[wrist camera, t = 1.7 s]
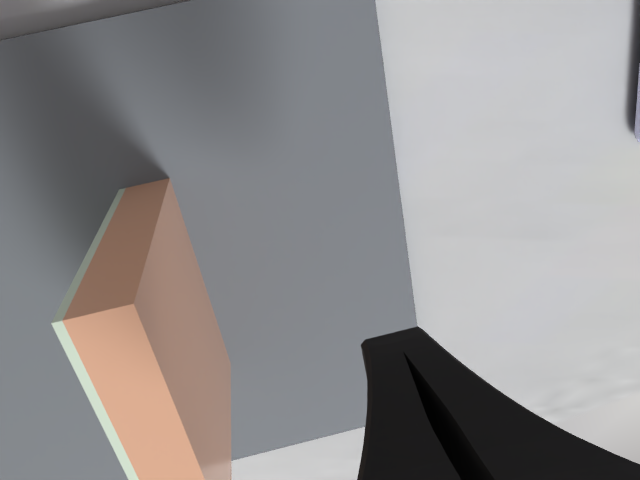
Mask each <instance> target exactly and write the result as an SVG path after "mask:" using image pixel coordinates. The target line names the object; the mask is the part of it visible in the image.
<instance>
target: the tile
mask: <svg viewBox="0 0 640 480" xmlns="http://www.w3.org/2000/svg"><path fill="white" fill-rule="evenodd" d="M51 324H52V326H53V328H54V330H55V332H56V334H57V336H58V338H59V340H60V342H61V344H62V346H63V348H64V350H65V352H66V354H67V356H68V358H69V361H70V363H71V365H72V367H73V369H74V371H75V373H76V375H77V377H78V379H79V381H80V383H81V385H82V387H83V389H84V391H85V393H86V395H87V397H88V399H89V401H90V403H91V405H92V407H93V409H94V411H95V413H96V415H97V417H98V419H99V421H100V423H101V425H102V427H103V429H104V431H105V433H106V435H107V437H108V439H109V441H110V443H111V445H112V447H113V449H114V451H115V453H116V456H117V458H118V460H119V462H120V464H121V466H122V468H123V470H124V472H125V474H126V476H127V478H128V480H231V363H230V360H229V357H228V354H227V351H226V348H225V345H224V342H223V338H222V335H221V332H220V329H219V326H218V323H217V320H216V317H215V314H214V311H213V308H212V305H211V302H210V299H209V296H208V293H207V290H206V287H205V284H204V281H203V278H202V275H201V272H200V268H199V265H198V262H197V259H196V256H195V253H194V250H193V247H192V244H191V241H190V238H189V235H188V232H187V229H186V226H185V223H184V220H183V217H182V214H181V211H180V208H179V205H178V202H177V198H176V195H175V192H174V189H173V186H172V183H171V180H170V178H168V179H163V180H159V181H154V182H150V183H146V184H141V185H137V186H132V187H128V188H124V189H119V191H118V193H117V195H116V197H115V199H114V201H113V203H112V205H111V207H110V209H109V211H108V212H107V214H106V216H105V218H104V220H103V222H102V224H101V226H100V228H99V230H98V232H97V234H96V236H95V238H94V240H93V242H92V244H91V246H90V248H89V250H88V252H87V254H86V256H85V258H84V260H83V262H82V264H81V266H80V268H79V270H78V272H77V274H76V275H75V277H74V279H73V281H72V283H71V285H70V287H69V289H68V291H67V293H66V295H65V297H64V299H63V301H62V303H61V305H60V307H59V309H58V311H57V313H56V315H55V317H54V319H53V321H52V323H51Z"/></svg>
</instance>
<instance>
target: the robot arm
mask: <svg viewBox="0 0 640 480" xmlns="http://www.w3.org/2000/svg"><path fill="white" fill-rule="evenodd" d="M635 138H636V139H637V141H638V142H640V65H639V78H638V92H637V105H636V119H635ZM361 349H362V355H363V360H364V365H365V371H366V376H367V415H366V425H365V436H364V444H363V451H362V457H361V463H360V468H359V474H358V479H357V480H640V464H637V463H635V462H632V461H629V460H627V459H625V458H623V457H620V456H618V455H615V454H613V453H611V452H609V451H607V450H605V449H602V448H600V447H598V446H596V445H594V444H592V443H589V442H587V441H585V440H583V439H581V438H579V437H576V436H574V435H572V434H570V433H568V432H566V431H564V430H563V429H560V428H559V427H557V426H555V425H553V424H552V423H550V422H548V421H546V420H545V419H543V418H541V417H539V416H538V415H536V414H534V413H533V412H531V411H529V410H528V409H526V408H524V407H523V406H521V405H520V404H518V403H516V402H515V401H513V400H512V399H510V398H509V397H507V396H506V395H504V394H503V393H501V392H500V391H498V390H497V389H496V388H494V387H493V386H491V385H490V384H489V383H487V382H486V381H484V380H483V379H482V378H481V377H479V376H478V375H477V374H475V373H474V372H473V371H471V370H470V369H469V368H467V367H466V366H465V365H463V364H462V363H461V362H460V361H458V360H457V359H456V358H455V357H454V356H452V355H451V354H450V353H449V352H448V351H446V350H445V349H444V348H443V347H442V346H440V345H439V344H438V343H437V342H436V341H435V340H434V339H433V338H431V337H430V336H429V335H428V334H427V333H426V332H425V331H424V330H423V329H421V328H419V327H418V326H417V327H413V328H409V329H405V330H401V331H397V332H393V333H389V334H385V335H381V336H377V337H373V338H369V339H365V340H364V341H363V343H362V344H361Z"/></svg>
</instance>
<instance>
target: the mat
mask: <svg viewBox="0 0 640 480" xmlns="http://www.w3.org/2000/svg"><path fill="white" fill-rule="evenodd" d="M168 178H170V180H171V183H172V186H173V189H174V192H175V195H176V198H177V202H178V205H179V208H180V211H181V214H182V217H183V220H184V223H185V226H186V229H187V232H188V235H189V238H190V241H191V244H192V247H193V250H194V253H195V256H196V259H197V262H198V265H199V268H200V272H201V275H202V278H203V281H204V284H205V287H206V290H207V293H208V296H209V299H210V302H211V305H212V308H213V311H214V314H215V317H216V320H217V323H218V326H219V329H220V332H221V335H222V338H223V342H224V345H225V348H226V351H227V354H228V357H229V360H230V363H231V461H232V460H236V459H240V458H244V457H248V456H252V455H256V454H260V453H264V452H267V451H271V450H275V449H279V448H283V447H287V446H291V445H295V444H299V443H303V442H307V441H310V440H314V439H318V438H322V437H326V436H330V435H334V434H338V433H342V432H346V431H350V430H353V429H357V428H361V427H365V425H366V415H367V376H366V371H365V365H364V360H363V355H362V349H361V344H362V343H363V341H364V340H365V339H369V338H373V337H377V336H381V335H385V334H389V333H393V332H397V331H401V330H405V329H409V328H413V327H417V321H416V313H415V305H414V297H413V290H412V282H411V274H410V267H409V259H408V251H407V243H406V236H405V228H404V220H403V213H402V205H401V197H400V189H399V182H398V174H397V166H396V159H395V151H394V143H393V135H392V128H391V120H390V112H389V105H388V97H387V89H386V81H385V74H384V66H383V58H382V51H381V43H380V35H379V27H378V20H377V12H376V4H375V0H190V1H185V2H180V3H175V4H171V5H166V6H161V7H156V8H152V9H147V10H142V11H137V12H133V13H128V14H123V15H118V16H114V17H109V18H104V19H99V20H95V21H90V22H85V23H80V24H76V25H71V26H66V27H61V28H57V29H52V30H47V31H42V32H38V33H33V34H28V35H23V36H19V37H14V38H9V39H4V40H0V480H128V478H127V476H126V474H125V472H124V470H123V468H122V466H121V464H120V462H119V460H118V458H117V456H116V453H115V451H114V449H113V447H112V445H111V443H110V441H109V439H108V437H107V435H106V433H105V431H104V429H103V427H102V425H101V423H100V421H99V419H98V417H97V415H96V413H95V411H94V409H93V407H92V405H91V403H90V401H89V399H88V397H87V395H86V393H85V391H84V389H83V387H82V385H81V383H80V381H79V379H78V377H77V375H76V373H75V371H74V369H73V367H72V365H71V363H70V361H69V358H68V356H67V354H66V352H65V350H64V348H63V346H62V344H61V342H60V340H59V338H58V336H57V334H56V332H55V330H54V328H53V326H52V324H51V323H52V321H53V319H54V317H55V315H56V313H57V311H58V309H59V307H60V305H61V303H62V301H63V299H64V297H65V295H66V293H67V291H68V289H69V287H70V285H71V283H72V281H73V279H74V277H75V275H76V274H77V272H78V270H79V268H80V266H81V264H82V262H83V260H84V258H85V256H86V254H87V252H88V250H89V248H90V246H91V244H92V242H93V240H94V238H95V236H96V234H97V232H98V230H99V228H100V226H101V224H102V222H103V220H104V218H105V216H106V214H107V212H108V211H109V209H110V207H111V205H112V203H113V201H114V199H115V197H116V195H117V193H118V191H119V189H124V188H128V187H132V186H137V185H141V184H146V183H150V182H154V181H159V180H163V179H168Z"/></svg>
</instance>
